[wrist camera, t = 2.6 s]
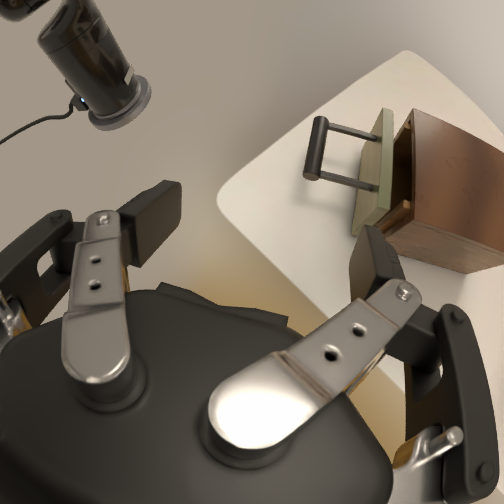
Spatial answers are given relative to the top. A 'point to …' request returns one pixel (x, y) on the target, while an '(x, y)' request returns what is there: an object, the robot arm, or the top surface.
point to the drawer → (371, 170)
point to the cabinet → (452, 199)
